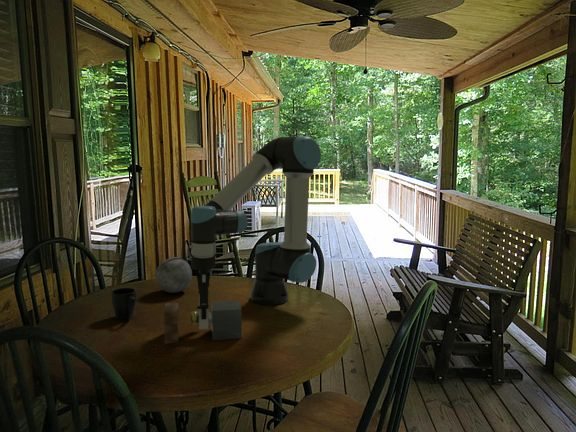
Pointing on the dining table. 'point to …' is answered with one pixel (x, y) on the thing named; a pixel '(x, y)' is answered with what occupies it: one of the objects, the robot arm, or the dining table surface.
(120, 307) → the mug
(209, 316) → the tube
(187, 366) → the dining table surface
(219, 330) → the sleeve
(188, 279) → the decorative orb
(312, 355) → the dining table surface
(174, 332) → the socket
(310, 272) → the robot arm
